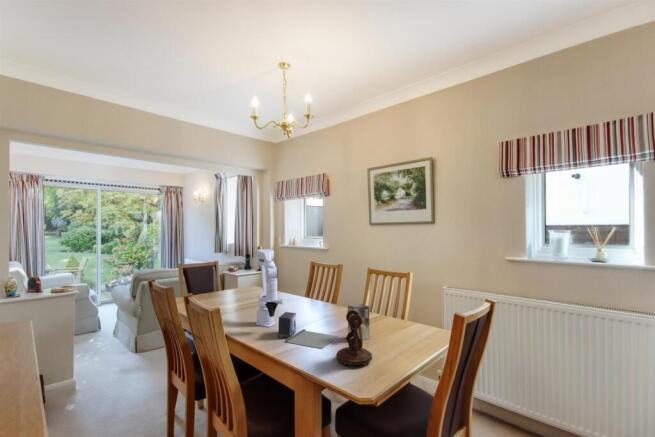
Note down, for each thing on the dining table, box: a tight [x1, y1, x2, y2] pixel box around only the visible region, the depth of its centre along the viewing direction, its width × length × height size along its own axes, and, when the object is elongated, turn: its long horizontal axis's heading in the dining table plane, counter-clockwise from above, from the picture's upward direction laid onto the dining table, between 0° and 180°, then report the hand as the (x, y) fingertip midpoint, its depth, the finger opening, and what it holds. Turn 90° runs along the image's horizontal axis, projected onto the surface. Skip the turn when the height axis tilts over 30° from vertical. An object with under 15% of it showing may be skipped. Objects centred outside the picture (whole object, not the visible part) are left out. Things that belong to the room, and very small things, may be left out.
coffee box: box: [347, 303, 371, 341], centre depth 156 cm, size 9×6×16 cm
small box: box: [277, 311, 297, 340], centre depth 161 cm, size 11×6×10 cm, turn 168°
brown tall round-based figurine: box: [335, 310, 373, 367], centre depth 130 cm, size 15×15×20 cm
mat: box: [284, 328, 338, 350], centre depth 155 cm, size 20×18×1 cm
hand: (271, 316), depth 165 cm, fingers closed
